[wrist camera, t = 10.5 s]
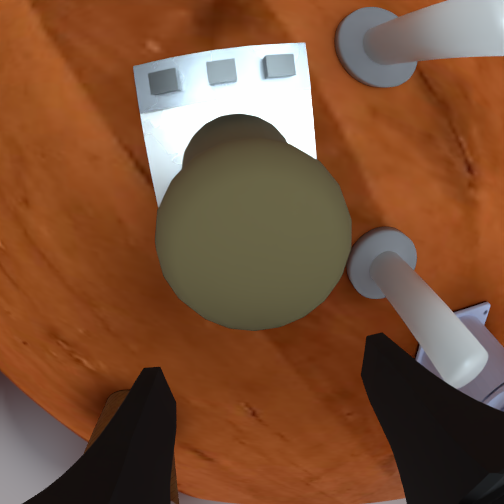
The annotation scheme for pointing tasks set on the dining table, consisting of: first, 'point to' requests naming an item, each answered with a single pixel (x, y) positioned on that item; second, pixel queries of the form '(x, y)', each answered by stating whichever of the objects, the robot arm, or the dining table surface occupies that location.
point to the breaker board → (193, 119)
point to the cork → (251, 226)
